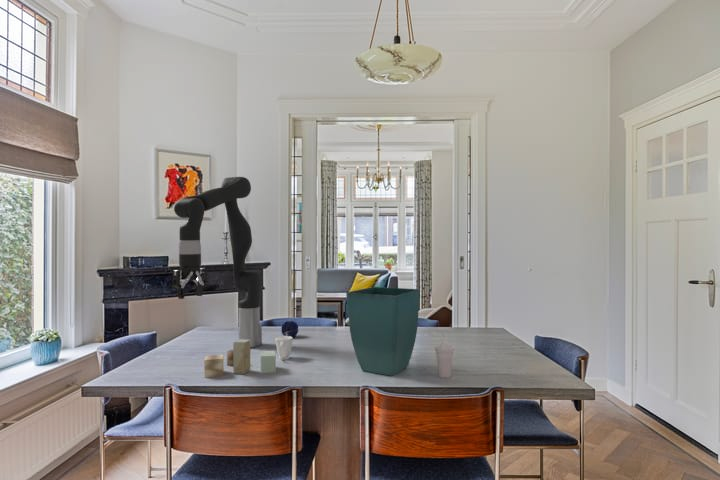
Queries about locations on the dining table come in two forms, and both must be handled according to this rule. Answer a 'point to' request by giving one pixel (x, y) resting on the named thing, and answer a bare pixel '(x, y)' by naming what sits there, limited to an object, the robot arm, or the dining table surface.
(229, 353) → the walnut cylinder
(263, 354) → the sage block
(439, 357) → the smoothie
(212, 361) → the beech cube
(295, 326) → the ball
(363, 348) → the flower pot
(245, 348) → the box
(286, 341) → the cup
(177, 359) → the dining table surface
